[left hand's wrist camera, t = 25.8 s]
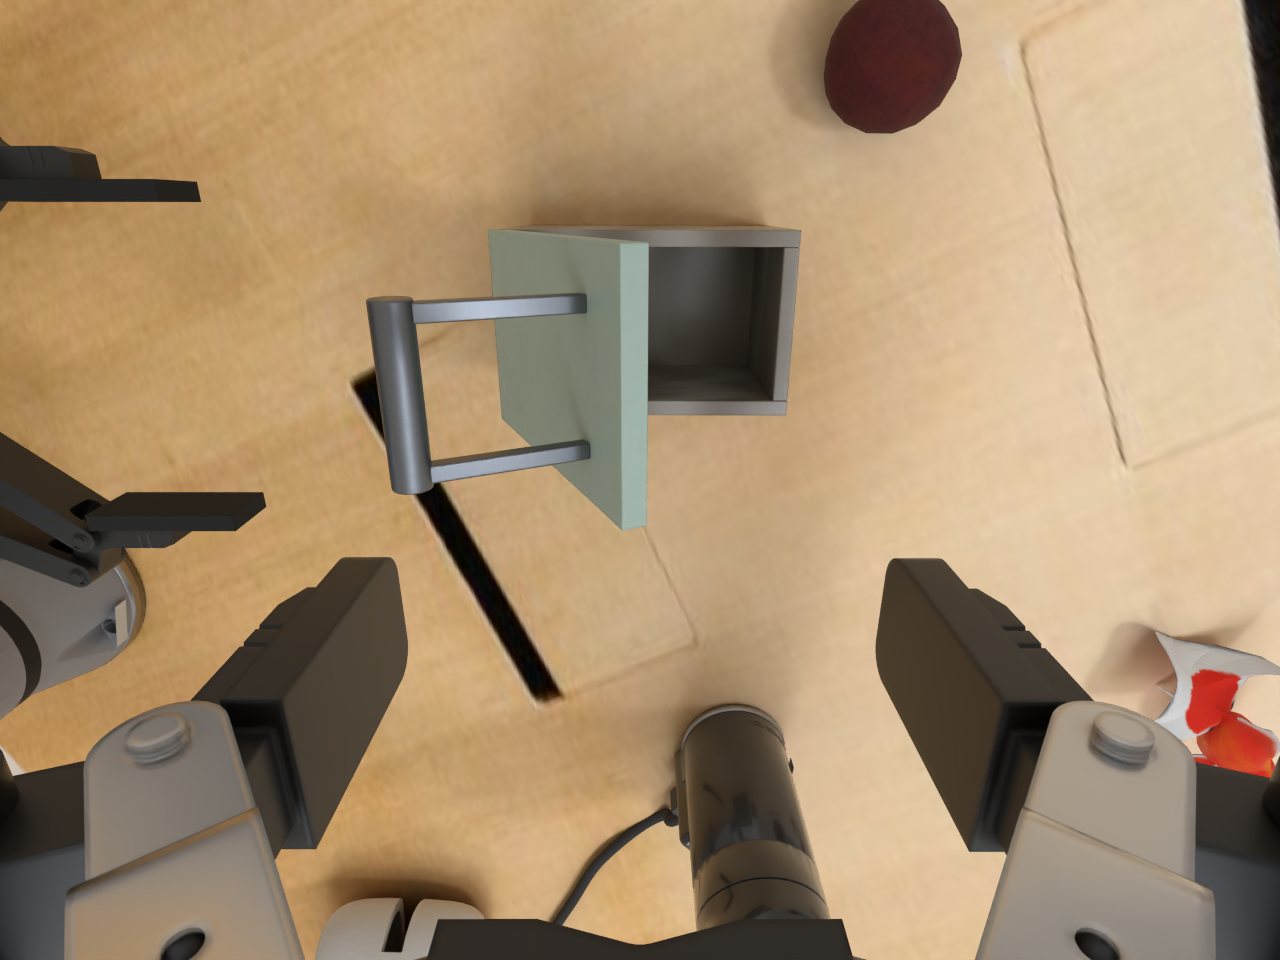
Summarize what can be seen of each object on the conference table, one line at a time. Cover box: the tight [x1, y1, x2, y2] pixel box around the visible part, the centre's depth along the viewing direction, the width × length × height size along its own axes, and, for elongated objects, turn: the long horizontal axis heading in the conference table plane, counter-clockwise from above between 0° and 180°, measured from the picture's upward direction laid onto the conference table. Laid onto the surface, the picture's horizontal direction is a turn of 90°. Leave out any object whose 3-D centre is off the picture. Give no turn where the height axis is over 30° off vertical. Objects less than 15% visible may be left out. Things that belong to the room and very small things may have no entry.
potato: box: [824, 0, 962, 133], centre depth 41 cm, size 7×8×7 cm
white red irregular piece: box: [1154, 631, 1280, 778], centre depth 58 cm, size 11×16×10 cm
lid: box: [366, 230, 649, 530], centre depth 30 cm, size 17×10×9 cm
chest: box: [501, 225, 801, 415], centre depth 44 cm, size 16×10×11 cm, turn 90°
